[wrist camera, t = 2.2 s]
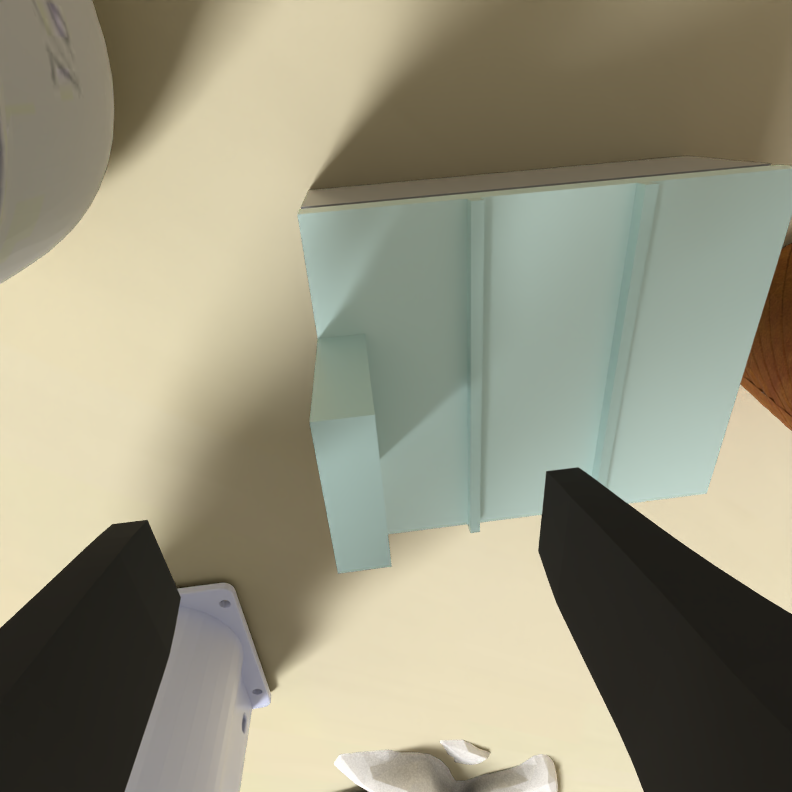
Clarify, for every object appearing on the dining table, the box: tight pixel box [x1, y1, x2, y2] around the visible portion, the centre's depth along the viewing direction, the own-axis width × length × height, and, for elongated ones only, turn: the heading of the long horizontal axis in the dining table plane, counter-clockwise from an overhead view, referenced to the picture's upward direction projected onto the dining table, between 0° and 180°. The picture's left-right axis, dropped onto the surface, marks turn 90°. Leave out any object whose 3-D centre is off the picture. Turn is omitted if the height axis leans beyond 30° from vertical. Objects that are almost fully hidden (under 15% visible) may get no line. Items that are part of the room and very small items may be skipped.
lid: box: [298, 165, 792, 573], centre depth 12 cm, size 12×10×5 cm
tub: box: [301, 156, 771, 209], centre depth 16 cm, size 12×10×4 cm
